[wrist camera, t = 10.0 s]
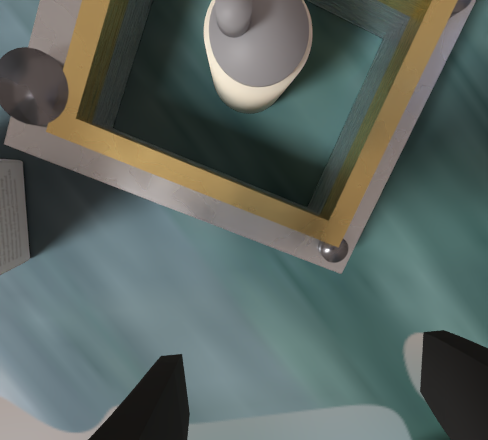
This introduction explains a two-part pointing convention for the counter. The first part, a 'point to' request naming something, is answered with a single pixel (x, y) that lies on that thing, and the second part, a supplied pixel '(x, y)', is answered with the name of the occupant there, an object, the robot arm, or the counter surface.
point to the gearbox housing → (202, 177)
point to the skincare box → (12, 216)
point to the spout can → (256, 49)
